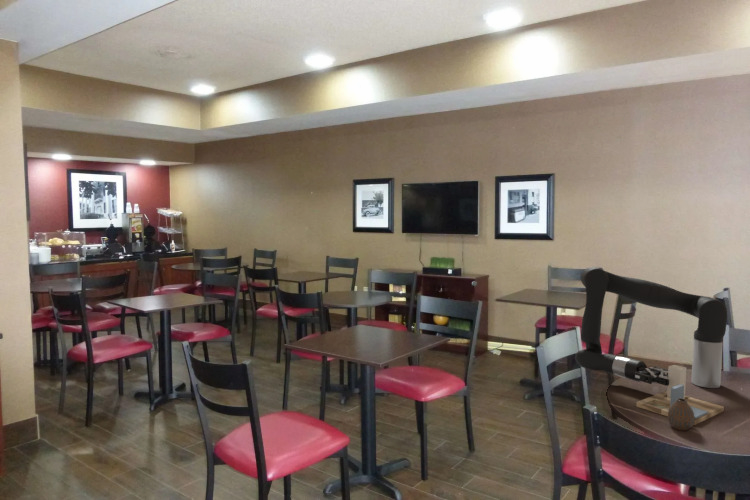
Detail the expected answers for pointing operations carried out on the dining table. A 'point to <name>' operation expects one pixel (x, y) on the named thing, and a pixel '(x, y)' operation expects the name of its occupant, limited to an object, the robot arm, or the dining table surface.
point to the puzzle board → (662, 405)
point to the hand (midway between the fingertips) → (674, 380)
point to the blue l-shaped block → (679, 393)
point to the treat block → (676, 378)
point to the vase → (681, 415)
